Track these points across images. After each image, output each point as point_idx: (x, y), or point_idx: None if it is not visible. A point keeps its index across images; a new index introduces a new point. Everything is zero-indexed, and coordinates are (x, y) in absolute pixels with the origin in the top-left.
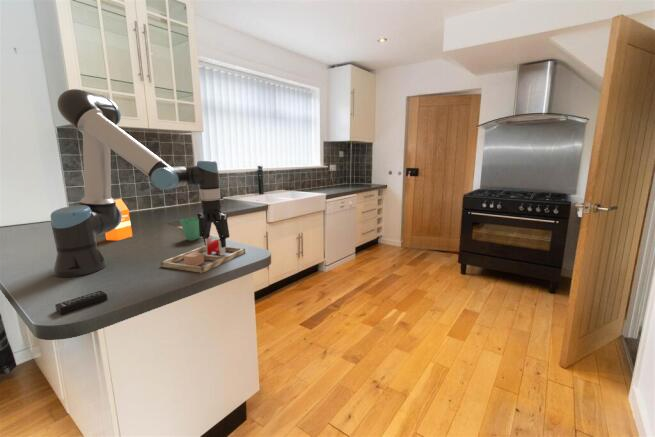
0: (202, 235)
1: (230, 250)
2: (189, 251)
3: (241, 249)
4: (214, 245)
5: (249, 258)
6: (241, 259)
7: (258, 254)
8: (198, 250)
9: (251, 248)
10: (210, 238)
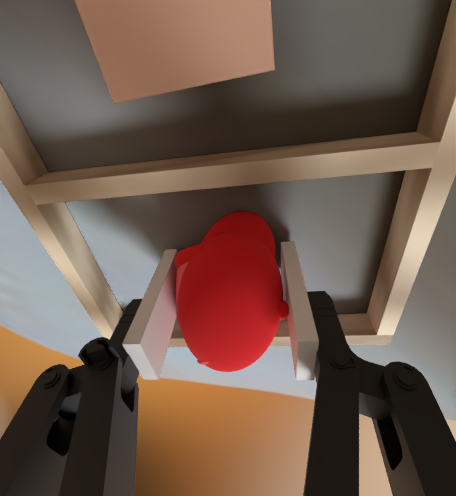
0: (381, 383)
1: None
2: (446, 190)
3: (108, 333)
4: (190, 292)
5: (7, 276)
6: (18, 251)
7: (42, 326)
8: (394, 257)
9: None
10: (294, 367)
